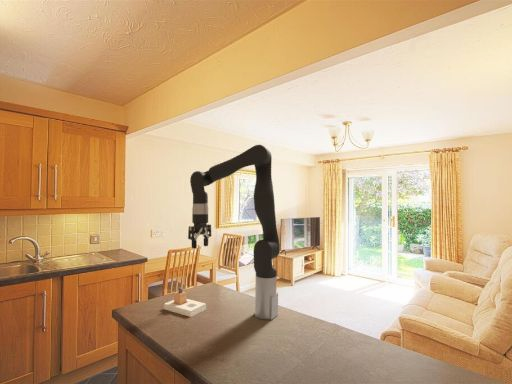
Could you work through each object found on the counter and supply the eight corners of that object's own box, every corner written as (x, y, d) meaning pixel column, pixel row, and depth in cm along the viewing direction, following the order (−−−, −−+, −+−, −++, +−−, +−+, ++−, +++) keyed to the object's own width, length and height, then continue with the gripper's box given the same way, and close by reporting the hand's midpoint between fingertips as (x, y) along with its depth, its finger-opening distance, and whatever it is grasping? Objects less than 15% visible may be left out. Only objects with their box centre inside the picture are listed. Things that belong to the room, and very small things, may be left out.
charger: (186, 307, 129) (186, 287, 129) (180, 310, 126) (180, 290, 126) (180, 305, 131) (180, 286, 131) (173, 308, 128) (174, 288, 128)
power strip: (205, 309, 127) (206, 303, 127) (190, 317, 119) (190, 310, 119) (180, 302, 135) (180, 296, 135) (164, 309, 127) (164, 303, 127)
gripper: (196, 213, 126) (196, 250, 125) (215, 212, 138) (215, 245, 138) (184, 213, 129) (183, 248, 129) (203, 212, 142) (203, 244, 141)
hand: (200, 247), depth 133 cm, fingers open, 8 cm apart
